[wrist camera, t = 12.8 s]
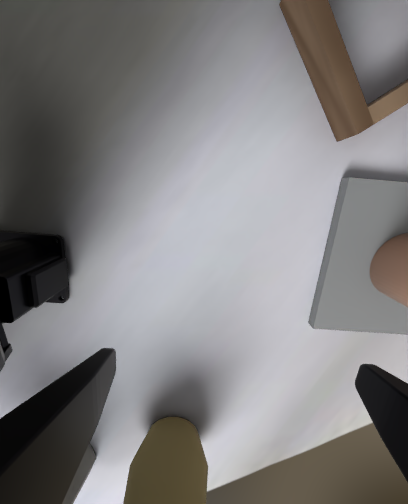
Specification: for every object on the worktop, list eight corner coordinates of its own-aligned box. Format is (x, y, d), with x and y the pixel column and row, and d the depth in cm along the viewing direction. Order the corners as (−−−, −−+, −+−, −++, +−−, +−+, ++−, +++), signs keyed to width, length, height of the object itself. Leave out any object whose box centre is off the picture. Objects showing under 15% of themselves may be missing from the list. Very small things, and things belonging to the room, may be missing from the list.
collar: (336, 141, 18) (357, 134, 16) (279, 4, 16) (293, -30, 13) (465, 61, 17) (509, 39, 14) (423, -102, 14) (468, -162, 12)
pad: (308, 322, 22) (313, 328, 21) (341, 178, 19) (349, 177, 18) (441, 331, 23) (451, 337, 22) (499, 191, 19) (515, 191, 18)
